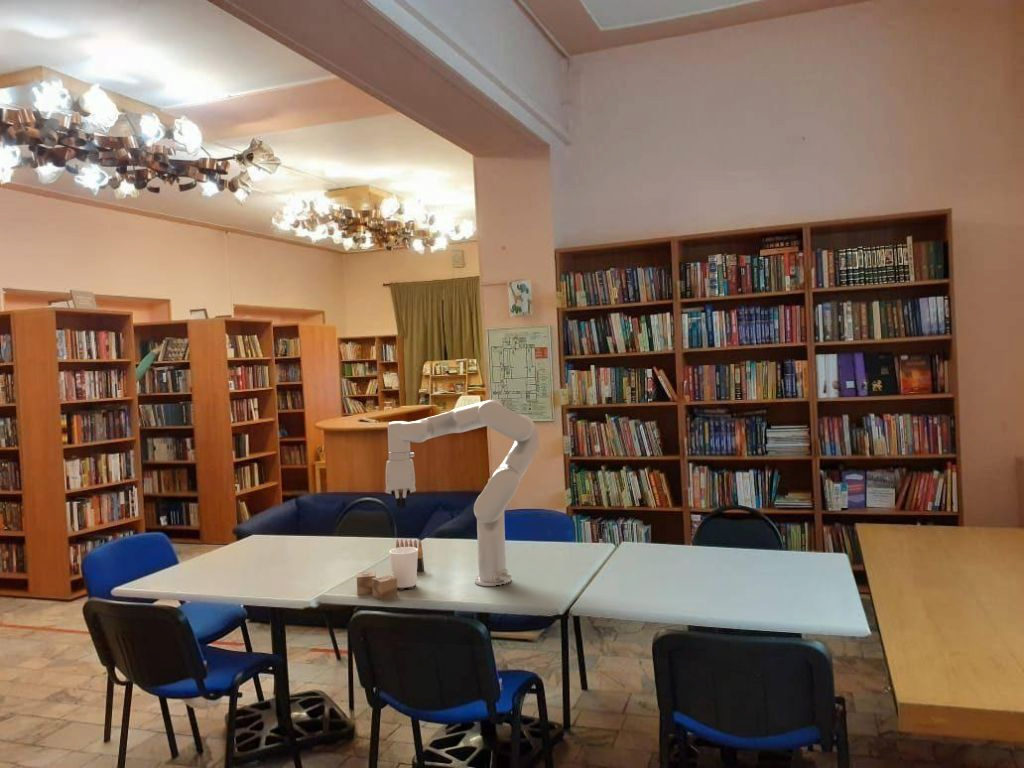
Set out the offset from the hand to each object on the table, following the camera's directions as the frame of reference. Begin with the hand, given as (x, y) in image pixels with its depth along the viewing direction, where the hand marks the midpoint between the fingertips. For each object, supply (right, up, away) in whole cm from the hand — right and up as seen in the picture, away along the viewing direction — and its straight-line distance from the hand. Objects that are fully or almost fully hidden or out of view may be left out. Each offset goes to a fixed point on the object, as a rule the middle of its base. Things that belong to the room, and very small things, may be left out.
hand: (401, 509), depth 259 cm
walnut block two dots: (-3, -27, -13) cm, 30 cm away
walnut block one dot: (-11, -27, -7) cm, 30 cm away
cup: (+2, -26, -4) cm, 27 cm away
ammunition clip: (+1, -26, +17) cm, 31 cm away
